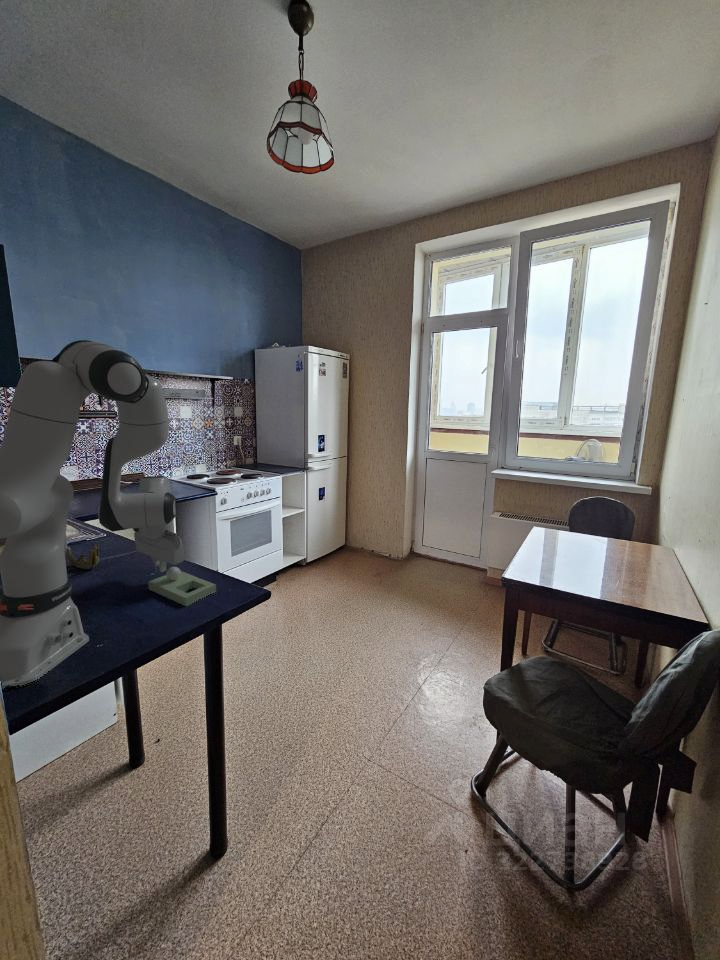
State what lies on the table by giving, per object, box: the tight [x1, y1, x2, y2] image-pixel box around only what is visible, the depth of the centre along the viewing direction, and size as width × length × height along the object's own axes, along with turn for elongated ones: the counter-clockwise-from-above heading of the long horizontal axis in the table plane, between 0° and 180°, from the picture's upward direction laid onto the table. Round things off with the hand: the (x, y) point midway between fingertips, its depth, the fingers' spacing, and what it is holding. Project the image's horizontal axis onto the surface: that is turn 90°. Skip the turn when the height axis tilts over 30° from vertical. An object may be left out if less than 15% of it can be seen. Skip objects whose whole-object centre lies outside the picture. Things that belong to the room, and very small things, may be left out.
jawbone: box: [66, 543, 100, 570], centre depth 129 cm, size 9×15×10 cm
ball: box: [165, 566, 182, 580], centre depth 117 cm, size 4×4×4 cm
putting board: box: [147, 570, 217, 607], centre depth 115 cm, size 18×10×2 cm, turn 59°
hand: (160, 570), depth 120 cm, fingers closed
